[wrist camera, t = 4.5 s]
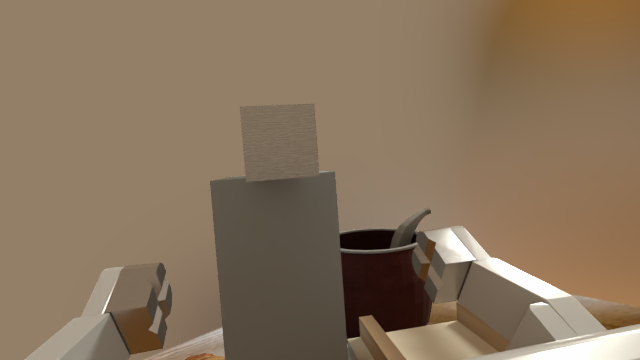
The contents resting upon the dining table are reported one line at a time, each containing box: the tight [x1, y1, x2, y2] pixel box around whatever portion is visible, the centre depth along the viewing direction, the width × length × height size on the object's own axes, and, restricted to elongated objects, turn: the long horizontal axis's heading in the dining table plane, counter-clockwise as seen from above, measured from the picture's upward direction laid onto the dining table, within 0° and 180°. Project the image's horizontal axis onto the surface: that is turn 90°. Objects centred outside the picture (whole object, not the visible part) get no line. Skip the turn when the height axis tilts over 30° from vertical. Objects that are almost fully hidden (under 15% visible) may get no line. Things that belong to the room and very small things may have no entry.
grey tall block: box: [210, 172, 348, 360], centre depth 29 cm, size 8×14×26 cm, turn 10°
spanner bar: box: [240, 104, 319, 182], centre depth 23 cm, size 3×20×3 cm, turn 10°
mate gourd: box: [339, 208, 432, 360], centre depth 42 cm, size 16×14×20 cm
